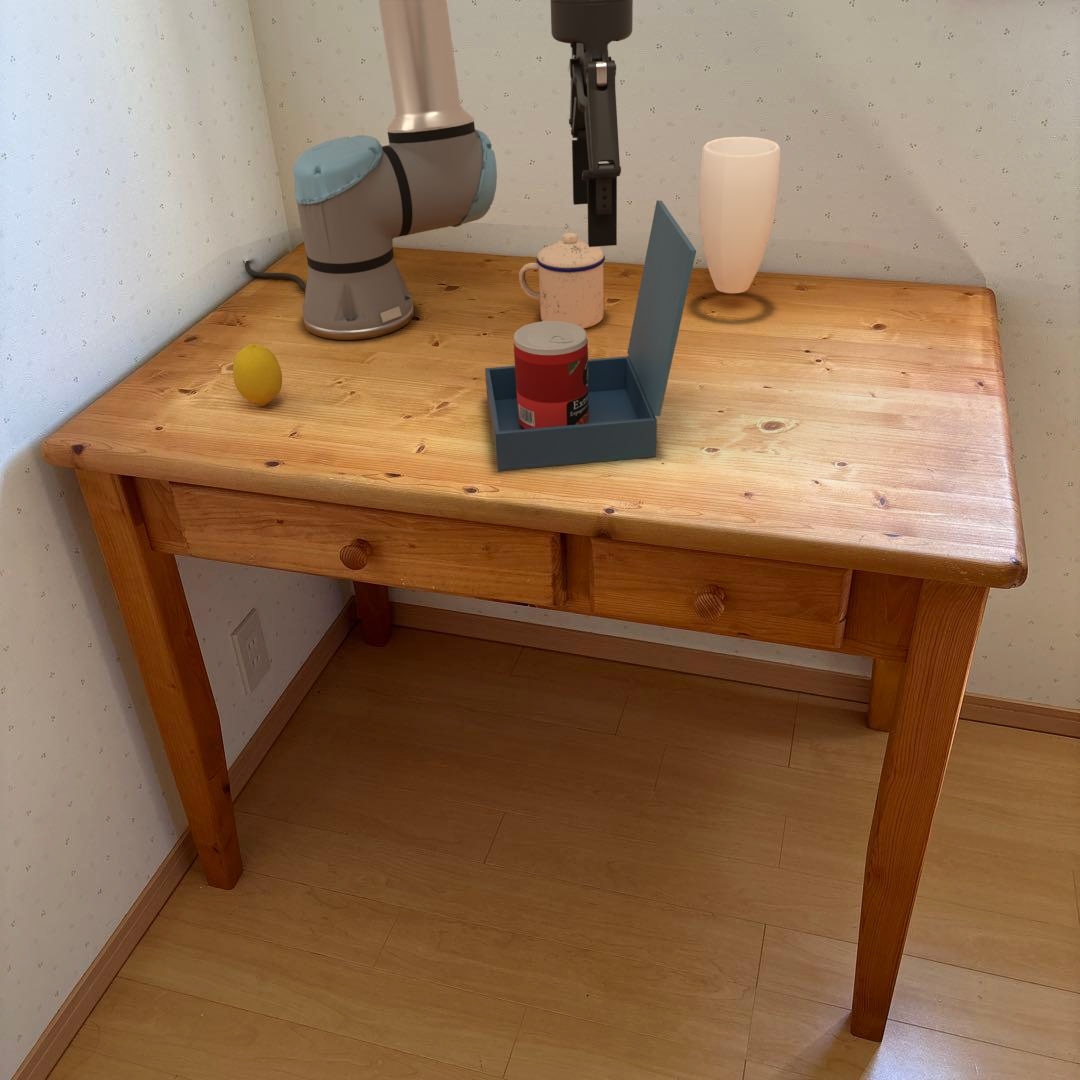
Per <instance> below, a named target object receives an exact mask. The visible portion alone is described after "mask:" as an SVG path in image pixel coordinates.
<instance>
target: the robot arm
mask: <svg viewBox="0 0 1080 1080" xmlns="http://www.w3.org/2000/svg"><path fill="white" fill-rule="evenodd" d="M377 2H378V8H379V15H380V21H381V28H382V33H383V40H384V46H385V53H386V60H387V65H388V71H389V77H390V85H391V90H392V97H393V103H394V109H395V114H394V118H393V119H392V121H391V122H390V124H389V125H388V126H387V128H386V131H387V132H386V133H387V136H388V145H383V146H382V144H381V142H380V141H379V140H378V139H377V137H374V136H371V135H354V136H351V137H350V136H343V137H337V138H334V139H329V140H325V141H324V142H320V143H318V144H315V145H314V146H311V147H309V148H308V149H306V150H304V151H303V152H302V153H300V154H299V156H297V158H296V160H295V161H294V163H293V167H292V175H293V186H294V200H295V202H296V203H297V211H298V216H299V221H300V227H301V233H302V240H303V245H304V250H305V255H306V260H307V268H308V271H307V272H308V273H307V279H306V283H305V282H304V281H303V279H302V278H301V277H300V276H298V275H296V274H293V273H287V272H263V271H262V272H261V271H256V270H254V269H252V268H251V265H250V260H249V261H246V263H245V266H244V269H245V271H246V272H247V273H248V274H249V275H250V276H252V277H256V278H263V279H264V278H265V279H288V280H292V281H294V282H296V283H297V284H298V285H299V287H300V289H302V290H303V291H304V302H303V305H302V316H303V317H302V318H303V324H304V327H305V329H306V330H307V331H308V332H309V333H311V334H313V335H315V336H318V337H321V338H324V339H330V340H338V341H339V340H340V341H353V340H354V341H355V340H365V339H371V338H377V337H381V336H384V335H388V334H390V333H394V332H395V331H398V330H400V329H402V328H403V327H405V326H407V325H408V324H409V323H410V322H411V321H412V320H413V318H414V316H415V309H414V302H413V298H412V296H411V292H410V291H409V288H408V287H407V284H406V281H405V280H404V278H403V276H402V274H401V272H400V269H399V267H398V265H397V263H396V259H395V255H394V246H393V245H394V243H393V239H396V238H400V237H406V236H410V235H415V234H421V233H424V232H429V231H434V230H439V229H444V228H449V227H453V228H458V227H460V226H462V225H464V224H468V223H473V222H475V221H479V220H480V219H482V218H484V216H485V215H487V213H488V212H489V210H490V209H491V206H492V204H493V203H494V200H495V196H496V190H497V181H498V178H497V177H498V169H497V158H496V154H495V150H493V149H492V146H493V144H492V141H491V140H490V138H489V137H488V135H487V134H486V133H485V132H483V131H481V130H478V129H476V126H475V118H474V117H473V116H472V115H471V114H470V113H468V112H467V111H466V110H465V109H464V108H463V107H462V105H461V99H460V91H459V83H458V76H457V69H456V61H455V53H454V48H453V38H452V30H451V24H450V17H449V16H450V14H449V8H448V1H447V0H377ZM633 3H634V1H633V0H550V24H551V25H550V26H551V27H550V28H551V31H550V33H551V37H552V38H553V39H554V40H555V41H557V42H560V43H562V44H563V43H564V44H570V48H571V58H569V63H568V65H569V75H570V102H569V103H570V105H569V119H568V124H569V127H570V128H571V129H570V135H571V136H572V139H571V155H572V156H571V158H572V159H571V161H572V162H571V163H572V164H571V165H572V166H571V167H572V203H573V205H575V206H576V205H587V243H588V246H589V247H611V246H612V247H613V246H618V243H617V242H618V237H617V236H618V233H617V232H618V177H620V176H621V173H622V166H621V163H620V160H621V159H620V144H619V128H618V127H619V126H618V114H617V113H618V111H617V109H618V108H617V94H616V75H617V64H616V62H615V60H614V59H612V56H609V44H610V43H611V42H620V41H624V40H626V39H628V38H629V37H630V36H631V35H632V33H633V18H634V17H633V16H634V13H633V8H634V5H633ZM242 262H243V263H244V261H243V260H242Z"/></svg>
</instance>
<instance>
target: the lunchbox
mask: <svg viewBox="0 0 1080 1080" xmlns="http://www.w3.org/2000/svg"><path fill="white" fill-rule="evenodd" d="M484 372H485V373H484V375H485V386H486V388H485V389H486V401H487V402H486V403H487V408H488V414H489V420H490V427H491V433H492V440H493V448H494V453H495V461H496V466H497V471H498V472H503V471H514V470H515V471H516V470H525V469H535V468H536V469H537V468H547V467H556V466H557V467H559V466H567V465H568V466H569V465H579V464H590V463H603V462H613V461H623V460H624V461H625V460H635V459H646V458H656V457H657V437H658V433H657V432H658V419H657V416H654V413H653V411H652V409H651V407H650V404H649V402H648V400H647V397H646V395H645V393H644V390H643V388H642V386H641V383H640V381H639V379H638V376H637V374H636V372H635V369H634V367H633V365H632V363H631V360H630V358H629V356H628V355H624V356H615V357H603V358H602V357H601V358H600V357H599V358H588V398H589V420H588V423H587V424H579V425H567V426H556V427H545V428H534V429H522V428H521V426H520V424H519V421H518V405H517V390H516V374H515V365H505V366H496V367H495V366H494V367H485V368H484Z"/></svg>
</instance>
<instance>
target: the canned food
mask: <svg viewBox="0 0 1080 1080" xmlns="http://www.w3.org/2000/svg"><path fill="white" fill-rule="evenodd" d="M588 343H589V341H588V334H587V331H586V330H585V328H584V329H583V328H582V327H580V326H578V325H575V324H572V323H568V322H562V321H542V320H541V321H536V322H532V323H529V324H528V323H527V324H525V325H523V326H521V327H519V328H517V330H516V331H514V334H513V356H514V366H515V374H516V390H517V405H518V421H519V424H520V426H521V428H522V429H534V428H545V427H556V426H567V425H579V424H587V423H588V420H589V398H588V359H589V345H588Z"/></svg>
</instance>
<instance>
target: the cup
mask: <svg viewBox="0 0 1080 1080" xmlns="http://www.w3.org/2000/svg"><path fill="white" fill-rule="evenodd" d="M780 163H781V147H780V145H779V144H778V143H777V142H776V141H773V140H770V139H769V138H768V139H767V138H762V137H756V136H728V137H727V136H726V137H722V138H721V137H720V138H716V139H713V140H710V141H707V142H706V143H705V145H703V147H702V149H701V162H700V174H699V185H698V188H699V189H698V190H699V191H698V192H699V194H698V197H699V199H698V203H699V204H698V206H699V207H698V208H699V209H698V211H699V213H698V214H699V215H698V216H699V217H698V218H699V220H698V221H699V228H700V234H701V241H702V247H703V253H704V257H705V261H706V265H707V268H708V272H709V275H710V278H711V280H712V282H713V286H714V288H715V289H716V290H717V291H719V292H721V293H725V294H740V293H744V292H746V291H749V289H750V287H751V285H752V283H753V281H754V279H755V277H756V276H757V273H758V271H759V268H760V266H761V263H762V261H763V259H764V256H765V254H766V250H767V247H768V244H769V240H770V237H771V234H772V230H773V227H774V224H775V223H774V222H775V216H776V215H775V214H776V209H777V202H778V201H777V200H778V193H779V183H780V165H781V164H780Z"/></svg>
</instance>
